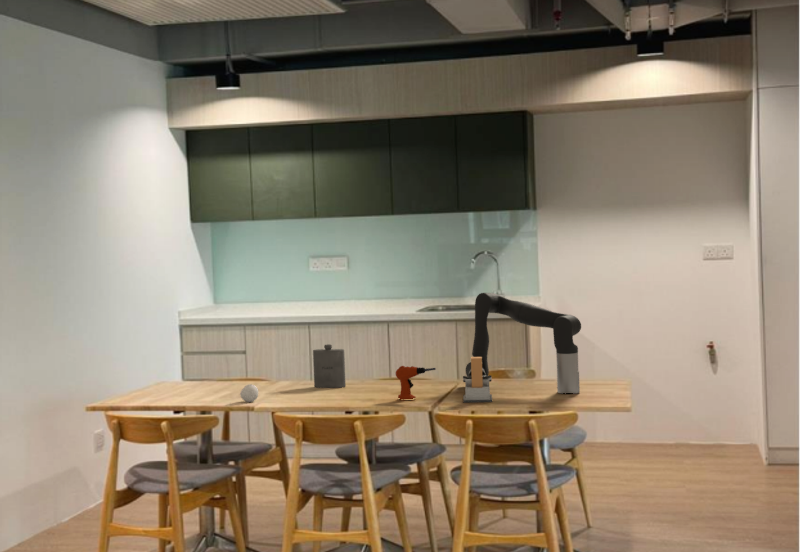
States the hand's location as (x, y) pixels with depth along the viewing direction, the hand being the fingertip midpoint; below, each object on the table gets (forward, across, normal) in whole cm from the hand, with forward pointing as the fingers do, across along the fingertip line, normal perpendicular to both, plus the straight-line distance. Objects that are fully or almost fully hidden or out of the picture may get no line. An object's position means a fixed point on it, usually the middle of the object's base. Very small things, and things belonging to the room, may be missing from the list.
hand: (477, 381), depth 453 cm
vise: (+4, 0, +7) cm, 8 cm away
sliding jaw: (+1, 0, +6) cm, 6 cm away
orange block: (+5, 0, +6) cm, 8 cm away
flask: (-41, -69, +7) cm, 81 cm away
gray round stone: (-4, -99, +7) cm, 99 cm away
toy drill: (+1, -26, +7) cm, 27 cm away
